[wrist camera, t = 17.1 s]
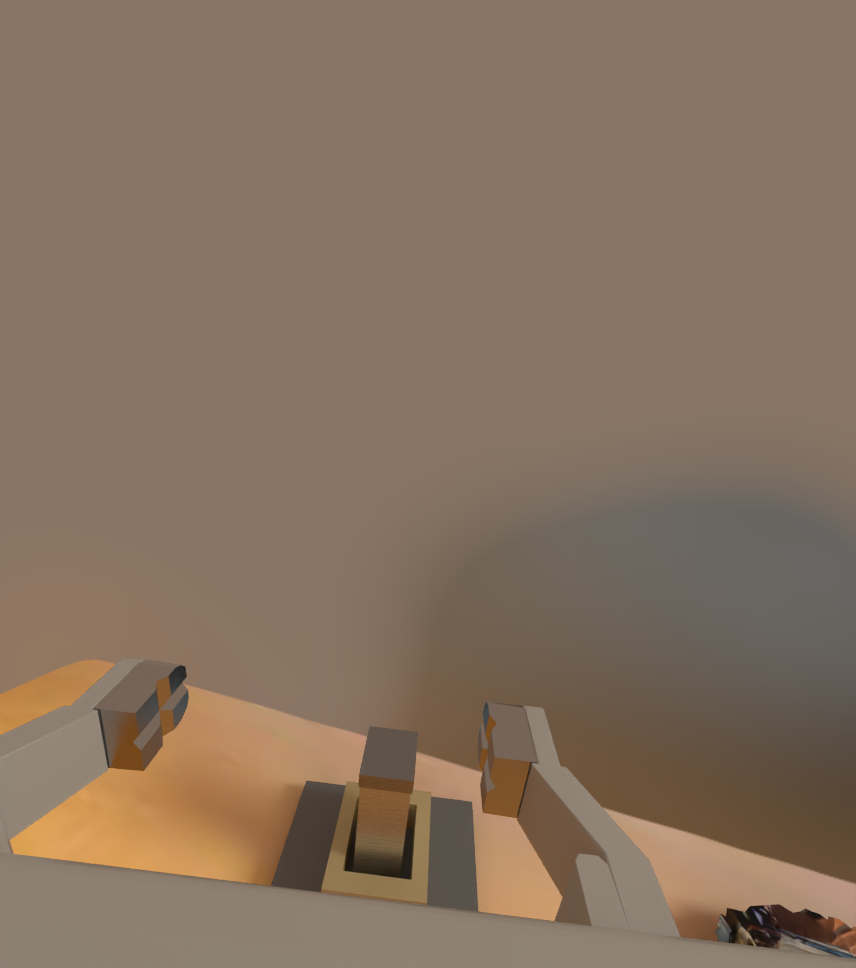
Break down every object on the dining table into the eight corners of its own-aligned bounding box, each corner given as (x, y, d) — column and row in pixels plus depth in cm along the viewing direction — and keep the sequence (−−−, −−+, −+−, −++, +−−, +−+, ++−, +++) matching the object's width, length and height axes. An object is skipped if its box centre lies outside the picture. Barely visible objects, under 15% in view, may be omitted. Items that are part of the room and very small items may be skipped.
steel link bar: (350, 887, 31) (359, 774, 27) (360, 831, 35) (369, 726, 31) (398, 893, 31) (414, 781, 27) (403, 837, 34) (418, 732, 31)
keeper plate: (253, 952, 28) (251, 912, 27) (306, 791, 39) (307, 757, 37) (478, 983, 28) (488, 944, 27) (469, 812, 38) (476, 779, 37)
